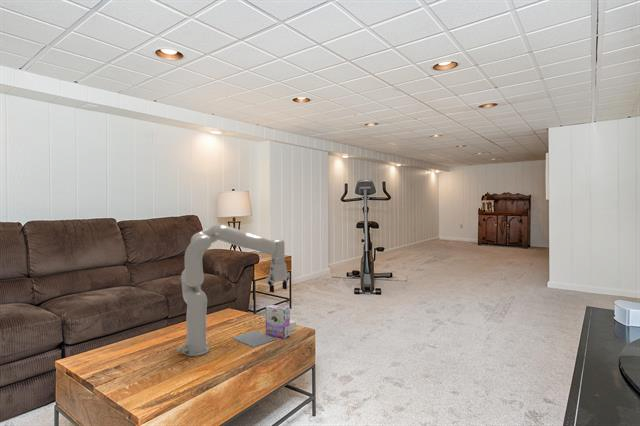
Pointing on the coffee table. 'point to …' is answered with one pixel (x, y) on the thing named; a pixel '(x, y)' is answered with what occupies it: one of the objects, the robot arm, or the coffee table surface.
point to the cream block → (292, 325)
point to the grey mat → (254, 338)
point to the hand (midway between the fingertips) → (278, 290)
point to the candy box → (278, 321)
